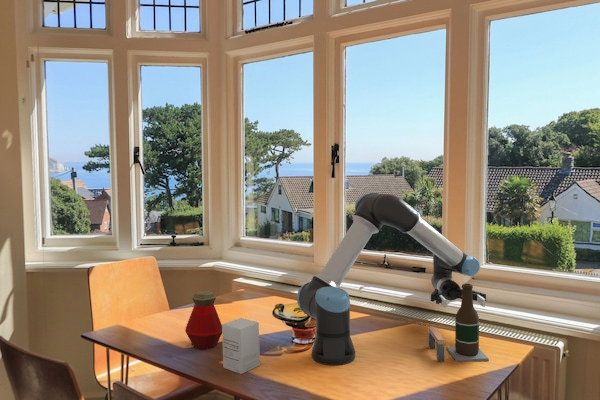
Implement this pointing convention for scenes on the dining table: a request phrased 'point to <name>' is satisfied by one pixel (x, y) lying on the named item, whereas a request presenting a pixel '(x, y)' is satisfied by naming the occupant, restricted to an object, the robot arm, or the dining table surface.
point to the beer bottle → (467, 325)
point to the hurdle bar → (436, 335)
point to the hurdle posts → (439, 347)
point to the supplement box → (240, 345)
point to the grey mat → (458, 357)
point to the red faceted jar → (204, 321)
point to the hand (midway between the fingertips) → (464, 303)
